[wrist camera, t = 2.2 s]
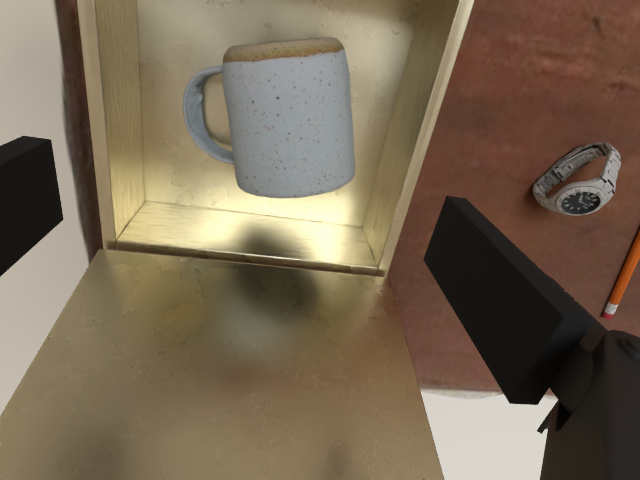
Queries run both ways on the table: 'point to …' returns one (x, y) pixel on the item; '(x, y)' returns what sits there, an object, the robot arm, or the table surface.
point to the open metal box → (207, 172)
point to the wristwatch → (579, 194)
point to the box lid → (220, 379)
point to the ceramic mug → (281, 117)
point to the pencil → (623, 279)
